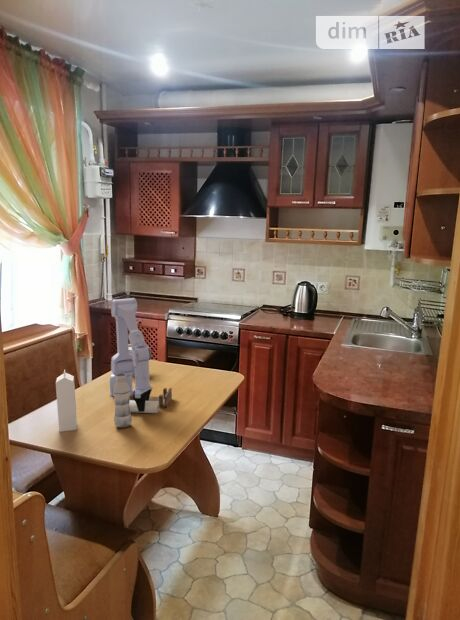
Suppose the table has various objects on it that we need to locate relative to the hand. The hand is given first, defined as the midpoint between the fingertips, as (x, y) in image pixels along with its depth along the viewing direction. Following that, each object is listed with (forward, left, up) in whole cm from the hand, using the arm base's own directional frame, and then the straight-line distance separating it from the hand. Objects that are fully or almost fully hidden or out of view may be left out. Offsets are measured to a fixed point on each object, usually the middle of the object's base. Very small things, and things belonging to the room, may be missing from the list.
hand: (143, 408), depth 182 cm
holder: (+1, +9, -1) cm, 10 cm away
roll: (0, 0, -2) cm, 2 cm away
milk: (-24, -17, -2) cm, 29 cm away
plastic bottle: (-4, -14, -2) cm, 14 cm away
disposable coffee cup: (-17, +44, -2) cm, 48 cm away
